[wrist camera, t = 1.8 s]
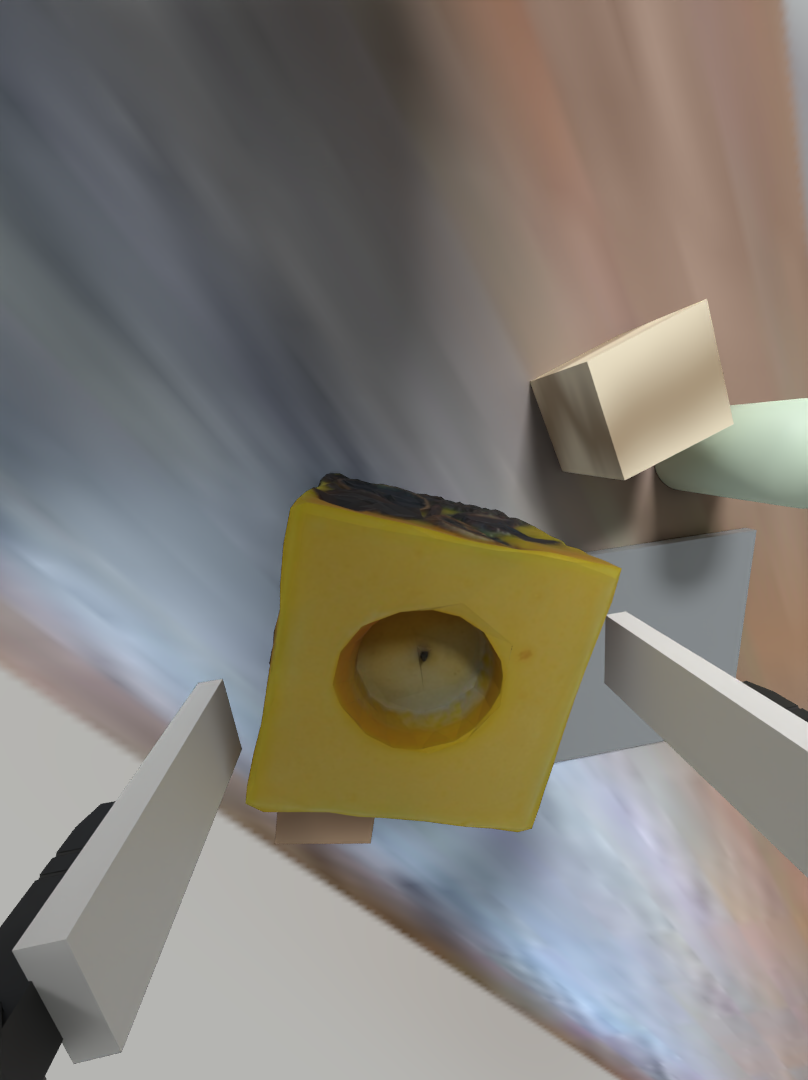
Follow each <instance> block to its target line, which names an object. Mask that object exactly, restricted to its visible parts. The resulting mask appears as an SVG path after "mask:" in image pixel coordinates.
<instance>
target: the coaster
mask: <svg viewBox="0 0 808 1080" xmlns="http://www.w3.org/2000/svg"><path fill="white" fill-rule="evenodd" d="M755 537H756V530H753V529H749V528H742V529H736V530H729V531H722V532H716V533H709V534H703V535H696V536H690V537H683V538H676V539H670V540H663V541H657V542H650V543H644V544H637V545H630V546H624V547H617V548H611V549H604V550H597V551H591V552H585V553H587V554H588V555H591V556H593V557H596V558H599V559H602V560H604V561H606V562H609V563H611V564H613V565H615V566H617V567H620V568H622V569H621V573H620V576H619V580H618V583H617V587H616V590H615V593H614V597H613V600H612V603H611V606H610V608H609V611H608V613H607V615H608V614H614V613H620V612H628V613H629V614H631V615H632V616H634V617H636V618H637V619H639V620H641V621H642V622H644V623H646V624H647V625H649V626H650V627H652V628H654V629H655V630H657V631H659V632H660V633H662V634H664V635H665V636H667V637H669V638H670V639H672V640H673V641H675V642H677V643H678V644H680V645H682V646H683V647H685V648H687V649H688V650H690V651H691V652H693V653H695V654H696V655H698V656H700V657H701V658H703V659H705V660H706V661H708V662H709V663H711V664H713V665H714V666H716V667H718V668H719V669H721V670H723V671H724V672H726V673H727V674H729V675H731V676H732V677H734V678H736V672H737V665H738V657H739V650H740V643H741V636H742V629H743V622H744V615H745V608H746V601H747V594H748V586H749V579H750V572H751V565H752V558H753V551H754V544H755ZM604 672H605V621H604V624H603V626H602V629H601V631H600V634H599V636H598V639H597V642H596V644H595V647H594V649H593V652H592V654H591V657H590V660H589V662H588V665H587V667H586V670H585V673H584V676H583V678H582V681H581V684H580V687H579V689H578V692H577V695H576V698H575V700H574V703H573V706H572V709H571V712H570V715H569V718H568V721H567V724H566V727H565V730H564V733H563V736H562V739H561V742H560V745H559V748H558V752H557V755H556V758H555V761H554V763H555V762H560V761H565V760H570V759H575V758H580V757H585V756H591V755H596V754H601V753H606V752H611V751H616V750H621V749H626V748H631V747H636V746H641V745H646V744H651V743H656V742H661V741H664V740H663V739H662V738H661V737H660V736H659V735H658V734H657V733H656V732H655V731H654V730H653V729H652V728H651V727H650V726H649V725H648V724H647V723H646V722H645V721H644V720H643V719H641V718H640V717H639V716H638V715H637V714H636V713H635V712H634V711H633V710H632V709H631V708H630V707H629V706H628V705H627V704H626V703H625V702H624V701H623V700H622V699H621V698H620V697H619V696H617V695H616V694H615V693H614V692H613V691H612V690H611V689H610V688H609V687H608V686H607V685H606V684H605V683H604Z"/></svg>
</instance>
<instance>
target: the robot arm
mask: <svg viewBox="0 0 808 1080" xmlns="http://www.w3.org/2000/svg"><path fill="white" fill-rule="evenodd" d="M604 683H605V684H606V685H607V686H608V687H609V688H610V689H611V690H612V691H613V692H614V693H615V694H616V695H617V696H619V697H620V698H621V699H622V700H623V701H624V702H625V703H626V704H627V705H628V706H629V707H630V708H631V709H632V710H633V711H634V712H635V713H636V714H637V715H638V716H639V717H640V718H641V719H643V720H644V721H645V722H646V723H647V724H648V725H649V726H650V727H651V728H652V729H653V730H654V731H655V732H656V733H657V734H658V735H659V736H660V737H661V738H662V739H663V740H664V741H665V742H667V743H668V744H669V745H670V746H671V747H672V748H673V749H674V750H675V751H676V752H677V753H678V754H679V755H680V756H681V757H682V758H683V759H684V760H685V761H686V762H687V763H688V764H690V765H691V766H692V767H693V768H694V769H695V770H696V771H697V772H698V773H699V774H700V775H701V776H702V777H703V778H704V779H705V780H706V781H707V782H708V783H709V784H710V785H711V786H712V787H714V788H715V789H716V790H717V791H718V792H719V793H720V794H721V795H722V796H723V797H724V798H725V799H726V800H727V801H728V802H729V803H730V804H731V805H732V806H733V807H734V808H735V809H737V810H738V811H739V812H740V813H741V814H742V815H743V816H744V817H745V818H746V819H747V820H748V821H749V822H750V823H751V824H752V825H753V826H754V827H755V828H756V829H757V830H758V831H759V832H761V833H762V834H763V835H764V836H765V837H766V838H767V839H768V840H769V841H770V842H771V843H772V844H773V845H774V846H775V847H776V848H777V849H778V850H779V851H780V852H781V853H782V854H784V855H785V856H786V857H787V858H788V859H789V860H790V861H791V862H792V863H793V864H794V865H795V866H796V867H797V868H798V869H799V870H800V871H801V872H802V873H803V874H804V875H805V876H806V877H808V711H806V710H804V709H803V708H801V709H799V708H798V705H796V704H794V703H792V702H791V701H789V700H787V699H786V698H784V697H782V696H780V695H779V694H777V693H775V692H774V691H771V690H768V689H766V688H763V687H761V686H758V685H756V684H753V683H750V682H748V681H744V682H741V681H739V680H737V679H736V678H734V677H732V676H731V675H729V674H727V673H726V672H724V671H723V670H721V669H719V668H718V667H716V666H714V665H713V664H711V663H709V662H708V661H706V660H705V659H703V658H701V657H700V656H698V655H696V654H695V653H693V652H691V651H690V650H688V649H687V648H685V647H683V646H682V645H680V644H678V643H677V642H675V641H673V640H672V639H670V638H669V637H667V636H665V635H664V634H662V633H660V632H659V631H657V630H655V629H654V628H652V627H650V626H649V625H647V624H646V623H644V622H642V621H641V620H639V619H637V618H636V617H634V616H632V615H631V614H629V613H628V612H620V613H614V614H608V615H607V616H606V618H605V672H604ZM241 750H242V748H241V744H240V741H239V737H238V733H237V730H236V726H235V722H234V719H233V715H232V711H231V708H230V704H229V700H228V697H227V693H226V689H225V686H224V682H223V679H219V680H213V681H207V682H201V683H198V684H197V685H196V687H195V688H194V690H193V691H192V693H191V694H190V695H189V697H188V698H187V700H186V701H185V703H184V704H183V706H182V707H181V708H180V710H179V711H178V713H177V714H176V716H175V717H174V718H173V720H172V721H171V723H170V724H169V726H168V727H167V728H166V730H165V731H164V733H163V734H162V736H161V737H160V739H159V740H158V741H157V743H156V744H155V746H154V747H153V749H152V750H151V751H150V753H149V754H148V756H147V757H146V759H145V760H144V762H143V763H142V764H141V766H140V767H139V769H138V770H137V772H136V773H135V775H134V776H133V777H132V779H131V781H130V782H129V783H128V785H127V786H126V787H125V789H124V790H123V792H122V793H121V795H120V796H119V798H118V799H117V801H114V802H109V803H104V804H100V805H99V806H98V807H97V808H96V809H95V810H94V811H93V812H92V813H91V814H90V815H88V816H87V817H86V818H85V819H84V820H83V821H82V822H81V823H80V824H79V825H78V826H77V827H75V829H74V830H73V831H72V833H71V834H70V835H69V837H68V838H67V840H66V841H65V842H64V843H63V845H62V846H61V848H60V849H59V850H58V851H57V854H56V857H55V858H52V859H51V861H50V862H49V863H48V865H47V866H46V867H45V869H44V870H43V871H42V873H41V874H40V878H39V880H36V881H35V882H34V883H33V884H32V886H31V887H30V888H29V890H28V891H27V892H26V894H25V895H24V896H23V898H22V899H21V900H20V902H19V903H18V904H17V906H16V907H15V908H14V910H13V911H12V912H11V914H10V915H9V916H8V918H7V919H6V920H5V922H4V923H3V924H2V925H1V927H0V1080H46V1077H45V1075H46V1073H47V1070H48V1069H49V1066H50V1065H51V1063H52V1061H53V1059H54V1057H55V1055H56V1053H57V1051H58V1049H59V1047H60V1045H61V1043H63V1045H64V1047H65V1049H66V1051H67V1053H68V1054H69V1056H70V1058H71V1060H72V1061H73V1063H74V1064H76V1063H80V1062H84V1061H88V1060H92V1059H96V1058H100V1057H105V1056H109V1055H113V1054H117V1053H121V1052H122V1050H123V1047H124V1045H125V1042H126V1040H127V1037H128V1035H129V1032H130V1030H131V1027H132V1025H133V1022H134V1019H135V1017H136V1015H137V1012H138V1009H139V1007H140V1005H141V1002H142V999H143V997H144V994H145V992H146V989H147V987H148V984H149V982H150V979H151V977H152V974H153V972H154V969H155V967H156V964H157V962H158V959H159V957H160V954H161V952H162V949H163V946H164V944H165V941H166V939H167V936H168V934H169V931H170V929H171V926H172V924H173V921H174V919H175V916H176V914H177V911H178V909H179V906H180V904H181V901H182V898H183V896H184V894H185V891H186V888H187V886H188V883H189V881H190V878H191V876H192V873H193V871H194V868H195V866H196V863H197V861H198V858H199V856H200V853H201V851H202V848H203V846H204V843H205V841H206V838H207V835H208V832H209V830H210V828H211V826H212V823H213V820H214V818H215V815H216V813H217V810H218V808H219V805H220V803H221V800H222V798H223V795H224V793H225V790H226V788H227V785H228V783H229V780H230V778H231V775H232V773H233V770H234V768H235V765H236V762H237V760H238V757H239V755H240V752H241Z"/></svg>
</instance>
